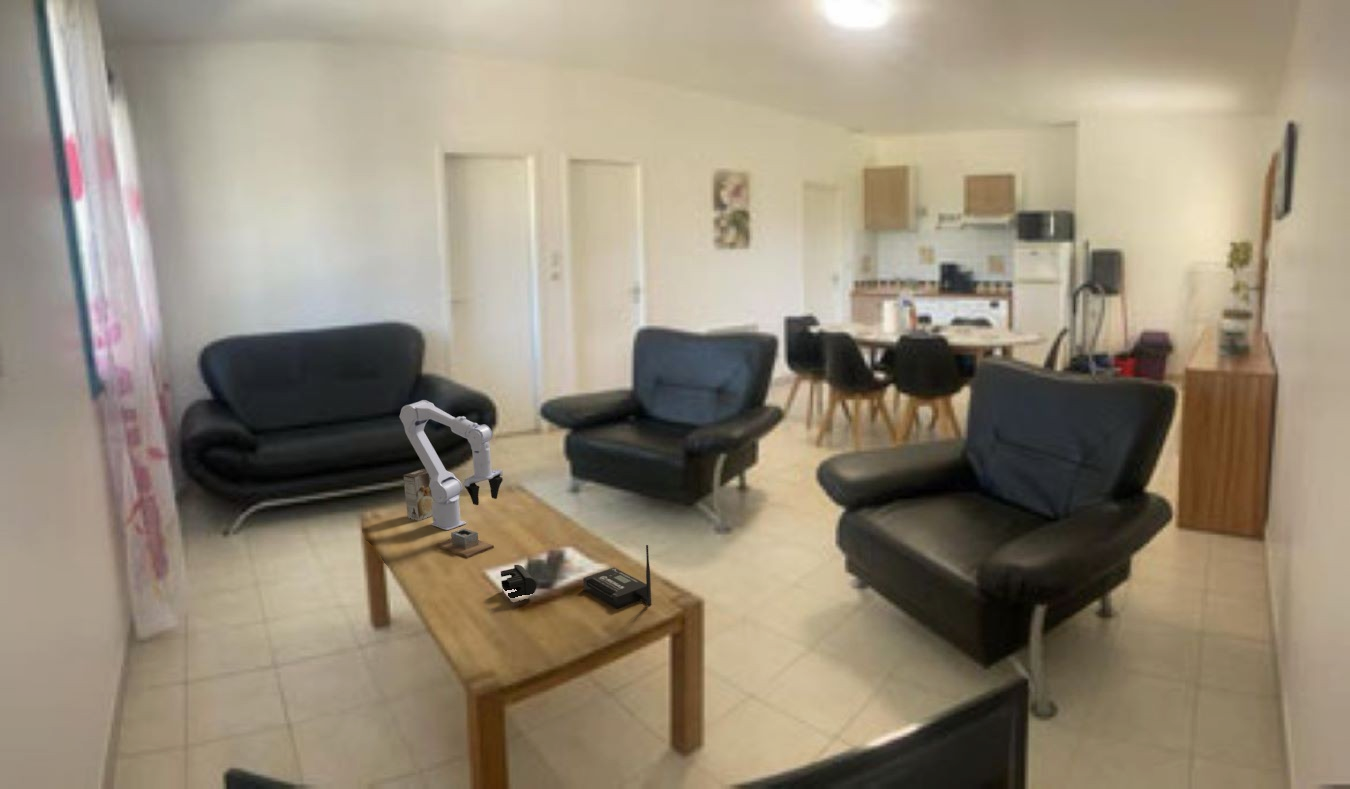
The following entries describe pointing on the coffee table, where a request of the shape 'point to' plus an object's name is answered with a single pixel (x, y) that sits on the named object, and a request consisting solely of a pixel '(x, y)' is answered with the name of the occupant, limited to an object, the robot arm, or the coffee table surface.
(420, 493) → the coffee box
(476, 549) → the keeper board
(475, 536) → the steel link
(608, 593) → the wireless controller
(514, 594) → the end cap
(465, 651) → the coffee table surface
